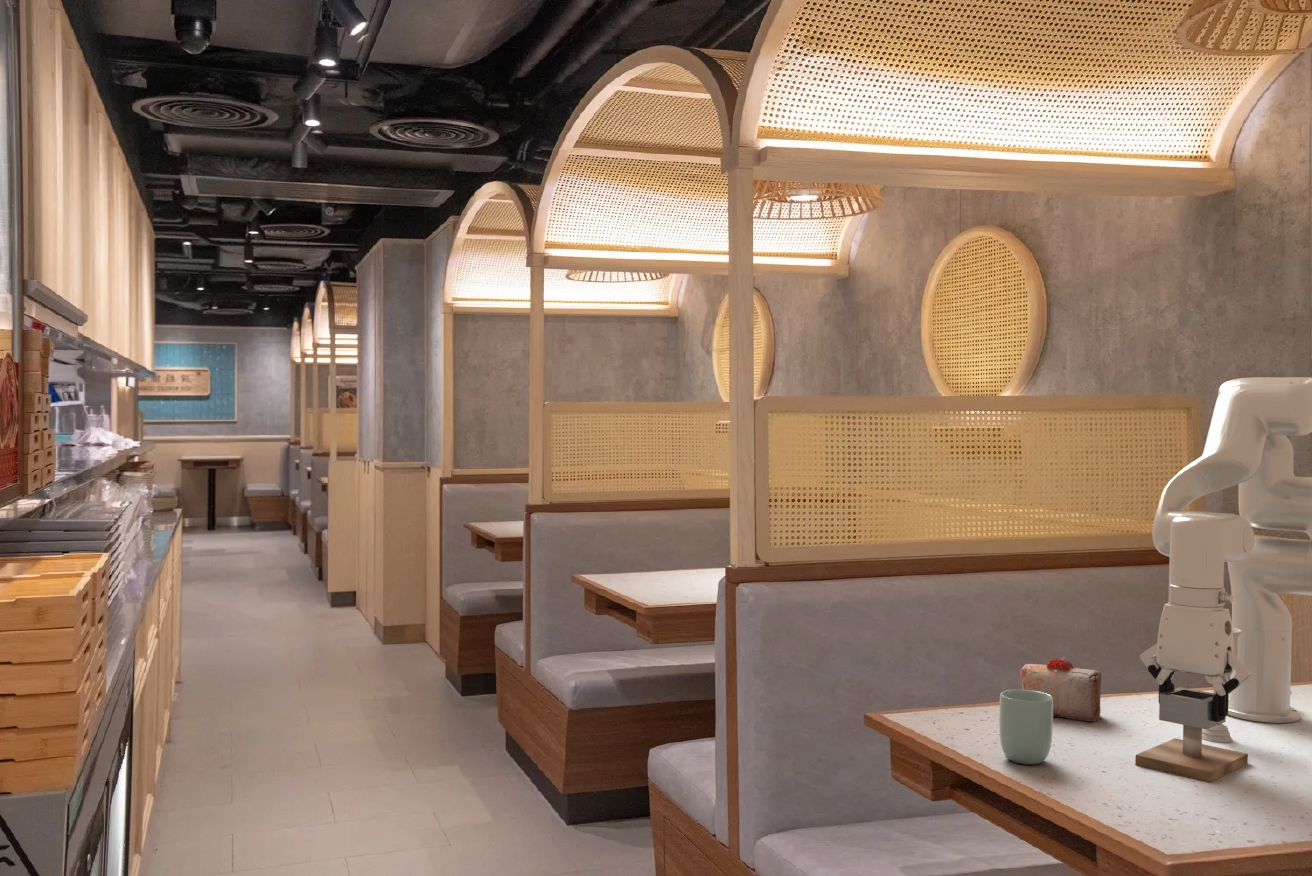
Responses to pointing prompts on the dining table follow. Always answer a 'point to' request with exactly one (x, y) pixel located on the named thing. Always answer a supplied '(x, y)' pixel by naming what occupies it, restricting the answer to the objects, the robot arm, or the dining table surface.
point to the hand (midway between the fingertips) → (1192, 714)
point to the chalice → (1221, 730)
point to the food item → (1066, 688)
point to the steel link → (1188, 708)
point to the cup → (1026, 725)
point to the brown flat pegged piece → (1192, 757)
